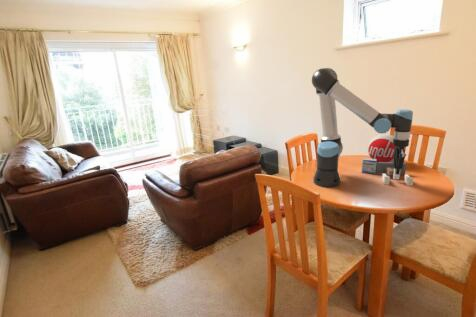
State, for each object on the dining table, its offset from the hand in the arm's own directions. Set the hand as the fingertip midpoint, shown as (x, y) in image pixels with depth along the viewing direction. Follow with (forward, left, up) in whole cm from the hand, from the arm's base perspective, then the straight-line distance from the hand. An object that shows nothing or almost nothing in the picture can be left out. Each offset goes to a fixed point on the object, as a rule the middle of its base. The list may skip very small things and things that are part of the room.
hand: (395, 178), depth 151 cm
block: (0, +7, -2) cm, 8 cm away
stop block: (0, +13, -2) cm, 13 cm away
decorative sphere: (0, +34, -2) cm, 34 cm away
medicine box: (-12, +14, -2) cm, 19 cm away
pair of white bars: (0, -1, -2) cm, 2 cm away
